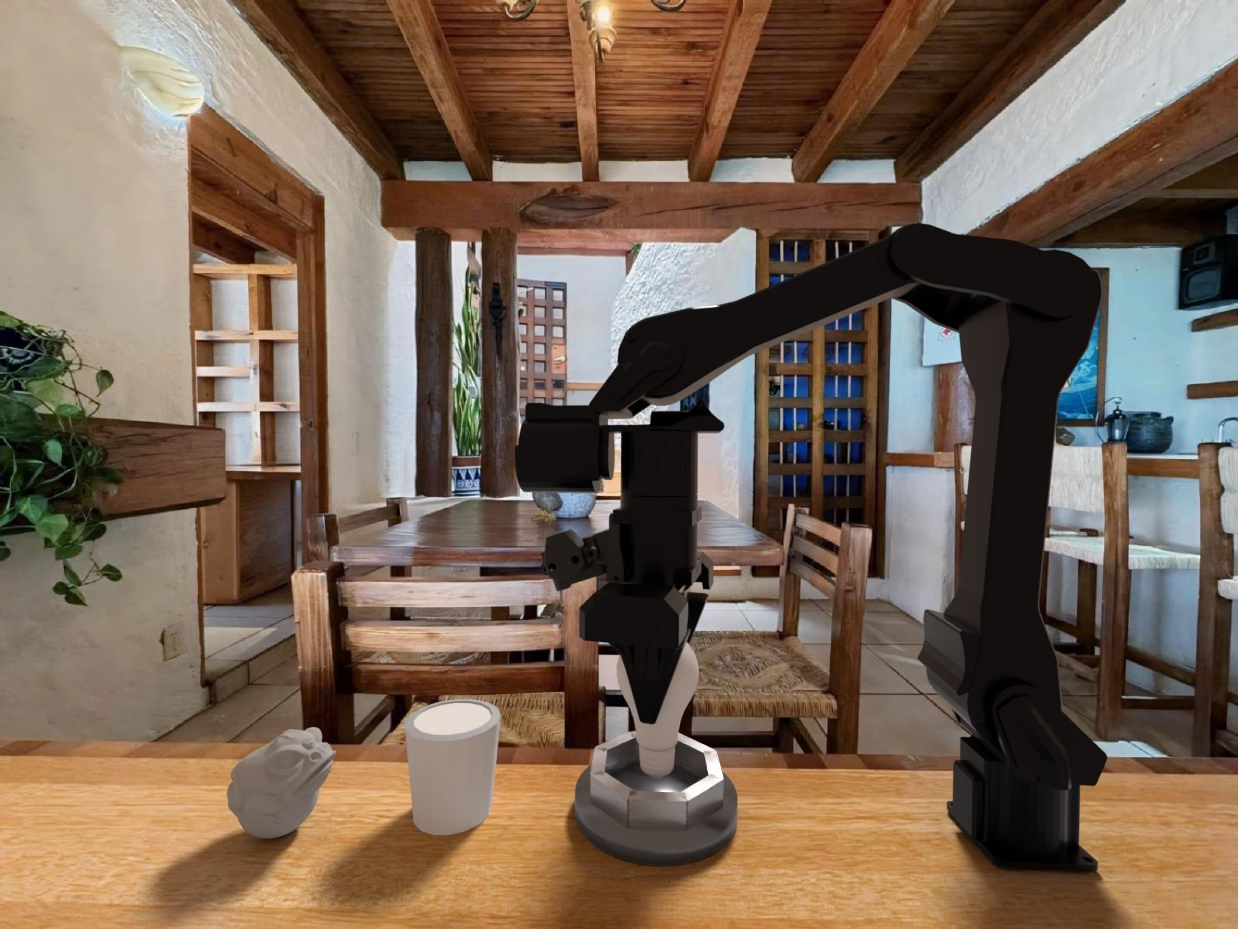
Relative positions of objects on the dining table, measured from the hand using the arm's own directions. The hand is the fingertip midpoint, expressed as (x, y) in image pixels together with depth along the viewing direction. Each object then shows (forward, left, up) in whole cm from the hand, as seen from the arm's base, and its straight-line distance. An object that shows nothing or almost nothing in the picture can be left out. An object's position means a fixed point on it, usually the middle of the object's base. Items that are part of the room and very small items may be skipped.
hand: (657, 703), depth 43 cm
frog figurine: (+26, +4, -8) cm, 28 cm away
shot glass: (+15, +1, -8) cm, 17 cm away
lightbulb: (0, 0, -6) cm, 6 cm away
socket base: (0, 0, -8) cm, 8 cm away
